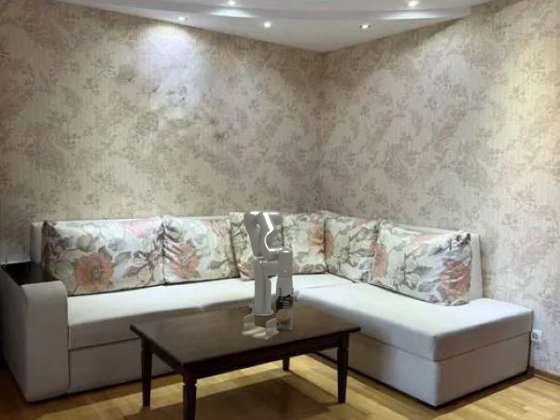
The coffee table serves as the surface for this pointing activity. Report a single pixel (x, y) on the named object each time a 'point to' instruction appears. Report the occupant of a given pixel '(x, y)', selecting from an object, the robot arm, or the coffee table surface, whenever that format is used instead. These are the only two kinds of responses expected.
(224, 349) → the coffee table surface
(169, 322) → the coffee table surface
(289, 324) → the coffee box
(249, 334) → the book rack
